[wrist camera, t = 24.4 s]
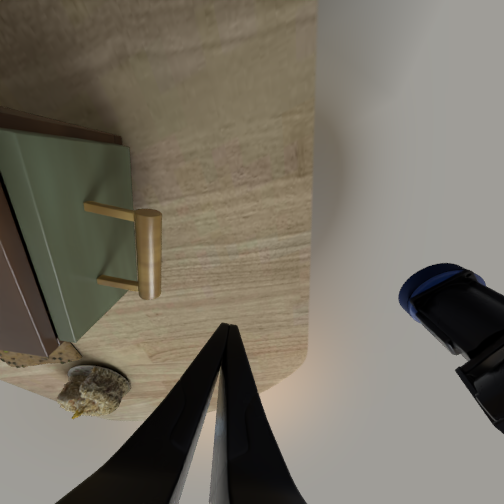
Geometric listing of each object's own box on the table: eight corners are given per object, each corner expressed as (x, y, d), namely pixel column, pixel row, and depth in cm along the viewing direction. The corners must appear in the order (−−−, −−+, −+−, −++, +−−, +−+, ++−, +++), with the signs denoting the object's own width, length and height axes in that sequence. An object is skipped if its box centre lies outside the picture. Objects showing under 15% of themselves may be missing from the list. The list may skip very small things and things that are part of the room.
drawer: (188, 161, 15) (129, 160, 8) (180, 289, 21) (141, 354, 14) (-70, 98, 14) (-419, 27, 7) (-2, 254, 20) (-149, 307, 12)
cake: (145, 379, 32) (127, 420, 27) (113, 397, 35) (91, 436, 30) (88, 354, 28) (56, 396, 23) (57, 376, 31) (23, 418, 26)
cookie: (83, 357, 28) (78, 364, 27) (15, 364, 29) (8, 370, 28) (31, 297, 23) (22, 302, 22) (-49, 307, 24) (-61, 312, 23)
